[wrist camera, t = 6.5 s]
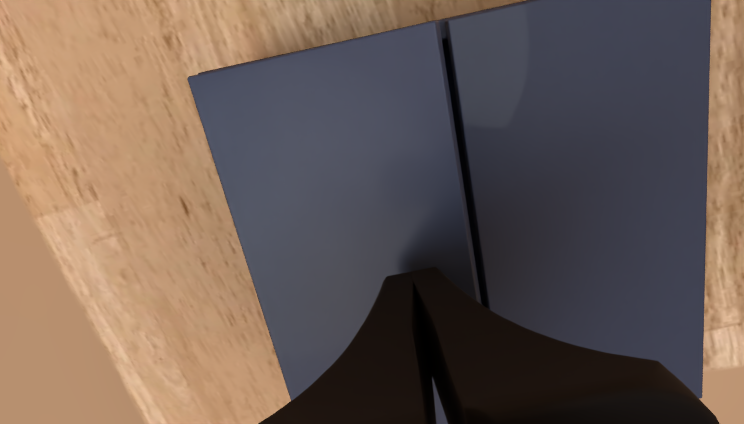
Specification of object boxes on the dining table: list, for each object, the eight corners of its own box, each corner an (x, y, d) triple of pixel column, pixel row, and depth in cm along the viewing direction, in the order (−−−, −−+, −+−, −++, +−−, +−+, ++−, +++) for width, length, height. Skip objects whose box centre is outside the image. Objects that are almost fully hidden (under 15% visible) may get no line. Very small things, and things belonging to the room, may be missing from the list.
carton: (599, 290, 22) (705, 399, 15) (327, 342, 23) (312, 469, 16) (581, -8, 18) (716, -43, 11) (250, 65, 19) (185, 75, 12)
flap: (509, 484, 14) (508, 496, 14) (317, 458, 16) (312, 468, 16) (439, 19, 10) (435, 20, 10) (196, 75, 12) (185, 77, 12)
